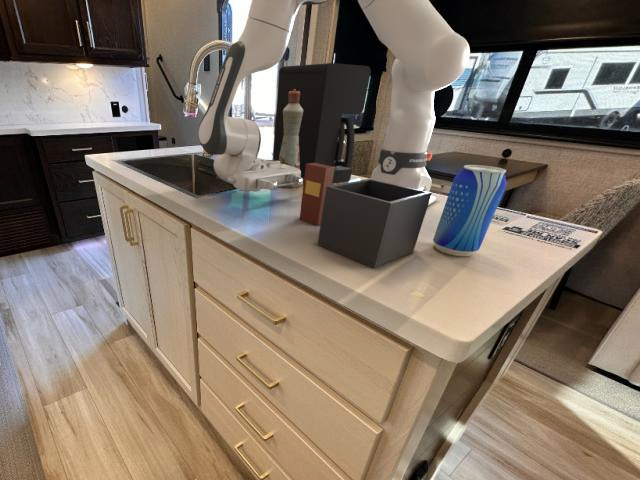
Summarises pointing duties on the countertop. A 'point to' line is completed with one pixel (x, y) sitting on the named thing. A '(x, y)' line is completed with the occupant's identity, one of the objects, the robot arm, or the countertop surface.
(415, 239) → the bin
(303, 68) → the coffee maker
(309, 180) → the packet
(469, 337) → the countertop surface
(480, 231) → the beer can
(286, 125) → the bottle
